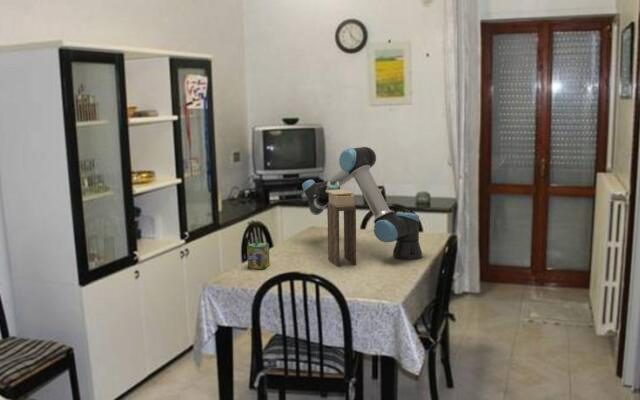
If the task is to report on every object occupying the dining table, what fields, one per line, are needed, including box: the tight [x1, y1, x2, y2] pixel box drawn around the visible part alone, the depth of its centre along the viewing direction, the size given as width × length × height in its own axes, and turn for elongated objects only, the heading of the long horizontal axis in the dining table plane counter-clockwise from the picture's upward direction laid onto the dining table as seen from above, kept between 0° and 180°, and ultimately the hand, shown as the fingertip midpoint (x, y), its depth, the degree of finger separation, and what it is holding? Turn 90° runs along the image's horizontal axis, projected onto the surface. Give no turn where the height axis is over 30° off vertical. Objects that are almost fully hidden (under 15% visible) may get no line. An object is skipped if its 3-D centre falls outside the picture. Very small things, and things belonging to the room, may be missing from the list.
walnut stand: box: [326, 203, 357, 268], centre depth 319 cm, size 15×10×30 cm, turn 17°
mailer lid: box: [325, 185, 354, 196], centre depth 324 cm, size 24×10×2 cm, turn 17°
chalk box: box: [246, 237, 271, 270], centre depth 315 cm, size 9×9×15 cm
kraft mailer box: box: [329, 194, 355, 207], centre depth 317 cm, size 13×9×5 cm
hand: (333, 183), depth 327 cm, fingers closed on mailer lid, 4 cm apart
